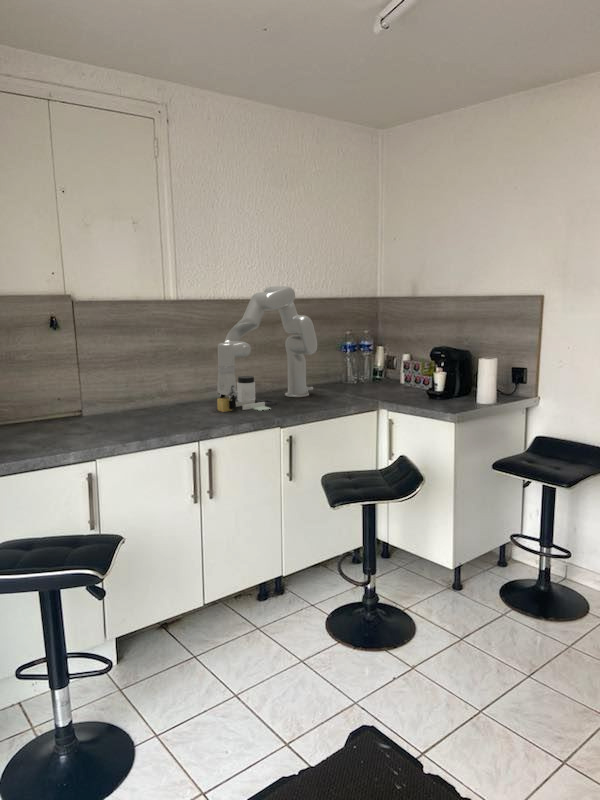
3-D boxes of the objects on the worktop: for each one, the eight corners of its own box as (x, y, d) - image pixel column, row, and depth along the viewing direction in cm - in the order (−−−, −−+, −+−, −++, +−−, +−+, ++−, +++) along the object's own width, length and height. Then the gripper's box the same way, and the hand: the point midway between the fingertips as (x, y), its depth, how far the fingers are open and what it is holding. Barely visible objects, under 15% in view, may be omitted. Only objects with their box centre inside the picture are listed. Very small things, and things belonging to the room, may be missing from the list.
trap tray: (267, 402, 284) (267, 399, 284) (276, 404, 278) (276, 402, 278) (255, 403, 280) (255, 401, 279) (264, 406, 274) (264, 403, 274)
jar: (237, 402, 284) (237, 378, 281) (237, 399, 292) (236, 376, 289) (255, 401, 285) (255, 377, 283) (255, 398, 293) (254, 375, 291)
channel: (254, 403, 280) (254, 399, 280) (265, 406, 273) (264, 402, 272) (232, 406, 273) (232, 402, 273) (243, 410, 266) (243, 405, 265)
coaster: (263, 407, 272) (263, 405, 272) (271, 409, 267) (271, 408, 267) (251, 408, 268) (251, 407, 268) (259, 411, 263) (259, 409, 263)
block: (226, 409, 269) (226, 397, 268) (232, 410, 265) (232, 399, 264) (217, 410, 266) (217, 398, 265) (222, 412, 262) (222, 400, 261)
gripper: (210, 368, 267) (211, 405, 270) (229, 372, 254) (230, 411, 257) (224, 367, 272) (225, 403, 275) (243, 371, 258) (244, 409, 261)
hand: (227, 407), depth 266 cm, fingers open, 7 cm apart
